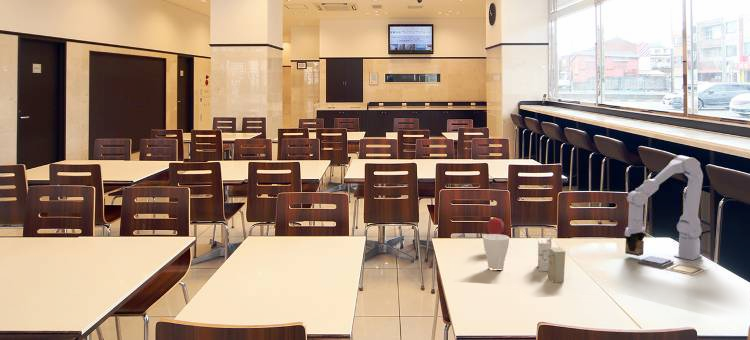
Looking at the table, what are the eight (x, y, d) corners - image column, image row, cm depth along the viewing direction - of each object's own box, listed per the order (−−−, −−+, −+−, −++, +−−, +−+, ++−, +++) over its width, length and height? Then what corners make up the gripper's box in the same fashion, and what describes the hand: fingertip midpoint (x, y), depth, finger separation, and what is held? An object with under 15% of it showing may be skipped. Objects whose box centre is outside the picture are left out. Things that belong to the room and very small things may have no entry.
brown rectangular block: (629, 251, 270) (630, 238, 269) (643, 254, 266) (643, 240, 265) (625, 253, 267) (625, 239, 267) (638, 256, 263) (639, 242, 262)
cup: (510, 266, 256) (510, 234, 254) (507, 273, 246) (507, 240, 244) (484, 264, 259) (485, 233, 257) (480, 271, 249) (481, 238, 247)
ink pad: (649, 259, 265) (649, 255, 264) (673, 263, 257) (673, 259, 257) (638, 263, 258) (638, 259, 258) (662, 268, 251) (662, 264, 250)
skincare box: (547, 278, 240) (548, 247, 238) (558, 277, 240) (559, 247, 239) (553, 282, 233) (554, 251, 232) (564, 282, 234) (565, 251, 232)
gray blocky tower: (537, 265, 257) (538, 231, 255) (549, 266, 256) (550, 231, 254) (538, 271, 249) (539, 235, 247) (551, 272, 248) (552, 236, 246)
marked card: (677, 264, 256) (677, 263, 256) (705, 269, 248) (705, 268, 248) (665, 269, 249) (665, 268, 249) (694, 275, 241) (694, 274, 241)
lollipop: (487, 252, 279) (487, 219, 277) (486, 247, 287) (487, 216, 285) (504, 252, 278) (504, 220, 276) (503, 248, 285) (504, 216, 283)
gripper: (634, 215, 272) (633, 245, 274) (618, 220, 263) (617, 251, 265) (650, 217, 267) (649, 248, 269) (634, 222, 258) (633, 254, 259)
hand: (634, 250), depth 266 cm, fingers closed on brown rectangular block, 4 cm apart
